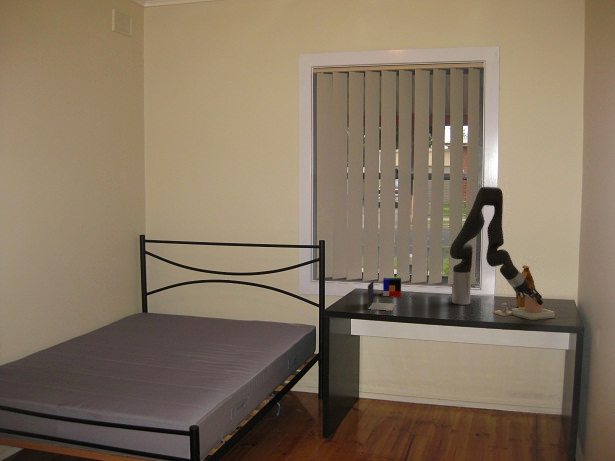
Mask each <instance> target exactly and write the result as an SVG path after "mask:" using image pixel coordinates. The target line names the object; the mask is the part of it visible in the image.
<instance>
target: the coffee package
mask: <svg viewBox="0 0 615 461" xmlns="http://www.w3.org/2000/svg"><path fill="white" fill-rule="evenodd" d="M522 269H523V270H522V271H521V274H522V275H523V276H524V277H525V278H526V280H527V281H528V282H529V287H530V288H531V289H532V290H533V289H536V286H535V280H534V277H533V276H532V273H531V271H530V266H528V265H526V264H524V265H522ZM531 295H532V294H531ZM515 298H516V299H515V301H516V306H517V308H522V307H525V299H524V298H523V297H521V296H518V294H517V293H516V292H515Z"/></svg>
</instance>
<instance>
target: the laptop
mask: <svg viewBox="0 0 615 461" xmlns="http://www.w3.org/2000/svg"><path fill="white" fill-rule="evenodd" d="M396 305H397V304H396V303H390V302H389V303H387V302H385V303H384V302H374V280H372V281H371V282H369V284H368V285H367V310H368V309H371V310H370V311H376V310H386V311H385V312H391V311H392V312H393V309H394V308H395V307H396Z"/></svg>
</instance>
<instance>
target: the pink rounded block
mask: <svg viewBox="0 0 615 461" xmlns="http://www.w3.org/2000/svg"><path fill="white" fill-rule="evenodd" d="M531 296H532V295H531ZM541 300H542V301H543V297H541ZM542 307H543V304H542V305H539V304H538V303H537V302H536V300H534V299H533V298H532V299H531V298H530V297H528V296H525V309H524V311H525V312H528V313H541V312H542Z"/></svg>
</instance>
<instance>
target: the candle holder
mask: <svg viewBox="0 0 615 461" xmlns="http://www.w3.org/2000/svg"><path fill="white" fill-rule="evenodd" d="M500 306H501V307H500V309H498V310H492V314H495V315H498V316H502V317H507V316H514V315H513V313H512V310H508V309H509V304H508V303H505V302H503V303H501V304H500Z"/></svg>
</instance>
